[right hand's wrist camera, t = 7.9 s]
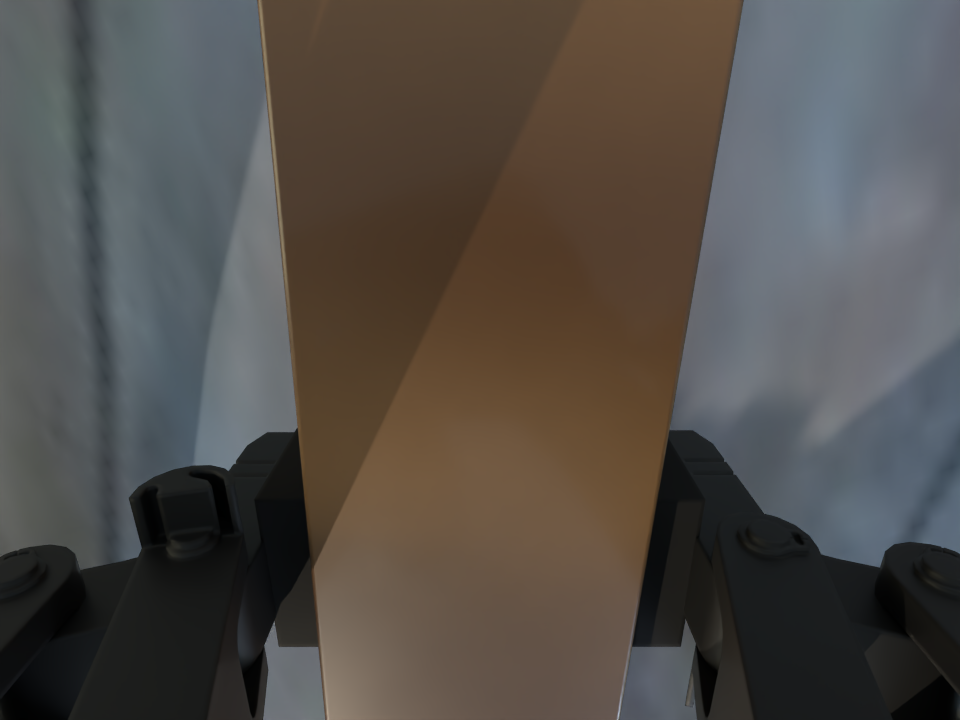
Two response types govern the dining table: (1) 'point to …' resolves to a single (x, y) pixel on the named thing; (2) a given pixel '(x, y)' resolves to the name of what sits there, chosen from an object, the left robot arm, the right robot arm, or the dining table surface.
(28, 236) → the dining table surface
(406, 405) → the bar
